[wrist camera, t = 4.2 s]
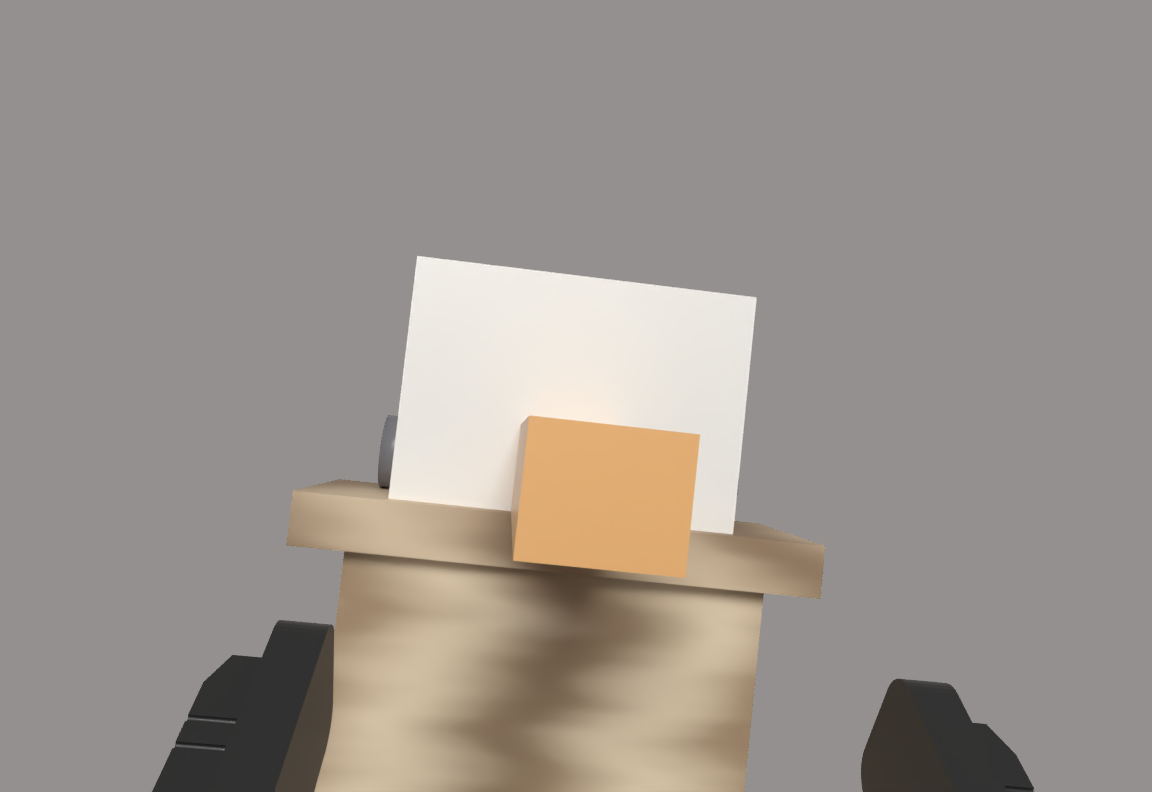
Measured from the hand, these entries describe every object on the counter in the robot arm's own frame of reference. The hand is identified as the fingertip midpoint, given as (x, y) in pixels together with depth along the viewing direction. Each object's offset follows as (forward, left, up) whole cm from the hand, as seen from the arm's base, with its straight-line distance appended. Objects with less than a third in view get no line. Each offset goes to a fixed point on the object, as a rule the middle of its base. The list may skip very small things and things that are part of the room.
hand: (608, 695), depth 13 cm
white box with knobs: (0, -11, +1) cm, 11 cm away
